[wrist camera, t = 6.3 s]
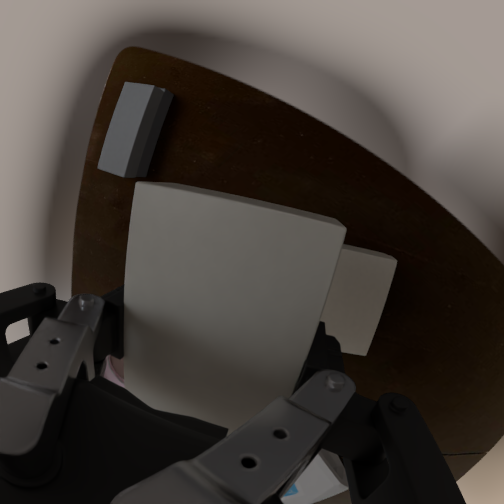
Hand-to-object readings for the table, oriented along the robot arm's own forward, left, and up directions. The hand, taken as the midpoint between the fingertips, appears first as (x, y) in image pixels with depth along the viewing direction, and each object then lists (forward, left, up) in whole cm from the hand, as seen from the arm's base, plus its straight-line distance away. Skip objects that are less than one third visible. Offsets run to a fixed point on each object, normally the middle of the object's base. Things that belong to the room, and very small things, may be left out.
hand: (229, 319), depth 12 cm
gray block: (-7, -18, -18) cm, 27 cm away
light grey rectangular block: (0, 0, +1) cm, 1 cm away
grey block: (+2, +9, -18) cm, 20 cm away
